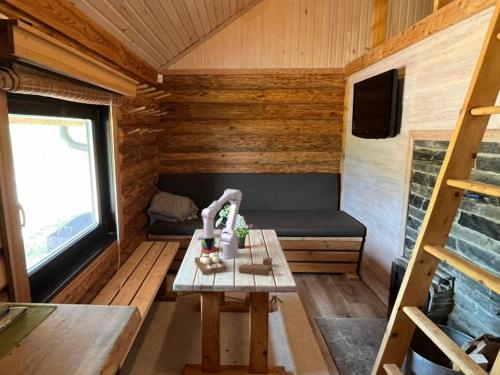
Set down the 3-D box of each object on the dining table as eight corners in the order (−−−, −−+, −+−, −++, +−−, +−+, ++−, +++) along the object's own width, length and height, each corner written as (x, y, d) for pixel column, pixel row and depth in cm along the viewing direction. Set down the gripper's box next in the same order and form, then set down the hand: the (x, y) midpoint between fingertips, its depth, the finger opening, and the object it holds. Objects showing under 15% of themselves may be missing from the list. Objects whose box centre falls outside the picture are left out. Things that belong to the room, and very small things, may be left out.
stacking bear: (209, 254, 214) (208, 228, 211) (197, 251, 219) (197, 226, 216) (219, 249, 223) (219, 224, 220) (207, 247, 228) (207, 222, 225)
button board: (216, 258, 207) (216, 253, 206) (226, 270, 189) (226, 265, 188) (194, 262, 201) (194, 256, 201) (203, 275, 183) (203, 269, 182)
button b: (208, 262, 194) (208, 257, 193) (210, 265, 190) (210, 259, 190) (202, 263, 192) (202, 258, 192) (203, 266, 189) (203, 260, 188)
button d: (218, 261, 196) (218, 255, 196) (220, 263, 193) (220, 257, 192) (211, 262, 195) (211, 256, 194) (213, 264, 191) (213, 258, 191)
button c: (215, 257, 202) (215, 252, 201) (217, 259, 198) (217, 254, 198) (209, 258, 200) (208, 253, 200) (210, 260, 197) (210, 255, 196)
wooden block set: (269, 267, 181) (238, 264, 185) (269, 277, 182) (238, 274, 186) (273, 256, 197) (245, 254, 201) (273, 265, 198) (245, 262, 202)
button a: (206, 262, 200) (205, 256, 199) (207, 264, 196) (207, 258, 196) (199, 263, 198) (199, 257, 198) (201, 265, 195) (201, 259, 194)
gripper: (218, 225, 199) (218, 246, 201) (194, 228, 193) (195, 249, 195) (222, 228, 192) (222, 250, 195) (198, 231, 186) (198, 253, 189)
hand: (209, 250), depth 194 cm, fingers closed
